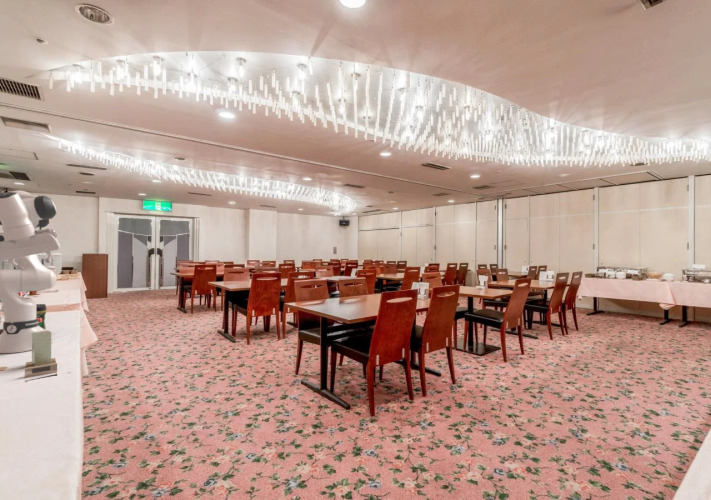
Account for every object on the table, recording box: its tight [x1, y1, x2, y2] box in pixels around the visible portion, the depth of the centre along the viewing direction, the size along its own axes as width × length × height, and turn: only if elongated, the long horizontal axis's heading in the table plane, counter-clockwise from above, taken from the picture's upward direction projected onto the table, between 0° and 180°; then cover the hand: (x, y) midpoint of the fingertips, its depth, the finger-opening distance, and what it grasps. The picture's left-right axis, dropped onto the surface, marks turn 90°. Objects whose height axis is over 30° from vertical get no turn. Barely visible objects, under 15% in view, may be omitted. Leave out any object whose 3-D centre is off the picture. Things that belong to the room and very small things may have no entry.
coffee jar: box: [36, 303, 48, 331], centre depth 188 cm, size 10×8×19 cm
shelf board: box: [24, 357, 58, 382], centre depth 136 cm, size 24×9×4 cm, turn 43°
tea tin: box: [31, 329, 52, 367], centre depth 141 cm, size 5×5×13 cm
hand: (34, 265), depth 140 cm, fingers open, 8 cm apart
